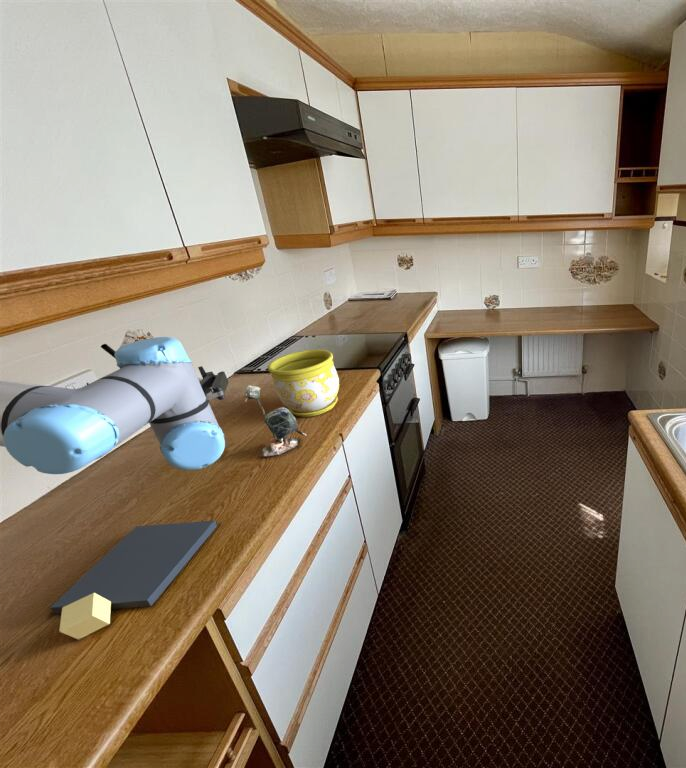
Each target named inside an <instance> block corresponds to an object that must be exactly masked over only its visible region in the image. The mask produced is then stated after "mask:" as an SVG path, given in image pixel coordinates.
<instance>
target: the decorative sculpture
mask: <svg viewBox="0 0 686 768" xmlns="http://www.w3.org/2000/svg"><path fill="white" fill-rule="evenodd" d="M261 390H262V389H261V387H260V386H256V385H249V384H248V385H247V386H246V388H245V391H244V397H245V400H244V403H245V402H247V401H248V400H256V402H257V404H258V406H259V408H260V410H261V411H262V413H263V416H264V417H263V421H264V423H265V425H266V426H267V427H268V429H269V431H270V432H271V434H272V435H273V437H272V438H270V439H269V443H268V444H266V445H264V446H263V448H262V450H261V453H260V457H272V456H278V455H279V456H280V455H282V454H284V453H287V452H288V451H291V450H292V449H295V448H297V447H298V444H299V443H298V442H299V440H298V438H296V437H293V438H286V437H287V436H289V435H291V434H292V433H293V432H296V433H298V434H299V435H301V436H304V437H307V436H308V435H307V434H306V433H304V432H302V431H301V430H299V429H298V427H299V425H298V422H297V419H296V417H295V416H294V414H292V413H291V412H290V411H289V408H288V407H278V408H276V409H273V410H271V411H269V412H268V413H266V412H265V410H264V407H263V406H262V404H261V401H260V398H261V392H262V391H261Z"/></svg>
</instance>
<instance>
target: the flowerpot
mask: <svg viewBox="0 0 686 768" xmlns="http://www.w3.org/2000/svg"><path fill="white" fill-rule="evenodd" d="M333 359H334V354H333V353H332V352H331V351H329V350H325V349H306V350H300V351H296V352H291V353H288V354H285V355H283V356H279V357H278V358H276V359H274V360H273V361H271V362H270V363H269V364H268V365H267V371H268V372H269V373H270V374H271V378H272V380H273V385H274V389H275V392H276V395H277V397H278V399H279V400H280V401H281V403H282V404H283V406H285V407H286V408H288V410H289V411H290V412H291V413H292V415H295V416H296V417H301V418H308V417H309V418H310V417H314V416H319V415H322V414H325V413H327V412H329V411H330V410H332V409H333V408H334V407H335V406H336V404H337V402H338V401H339V397H338V392H339V390H340V379H339V374H338V372H337V369H336V367H335V362H334V360H333Z"/></svg>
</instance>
